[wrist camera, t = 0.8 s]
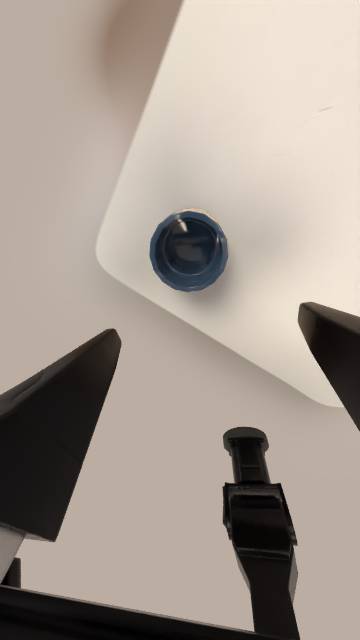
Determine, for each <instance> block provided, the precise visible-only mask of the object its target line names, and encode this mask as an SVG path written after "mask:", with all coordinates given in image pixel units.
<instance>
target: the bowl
mask: <svg viewBox="0 0 360 640" xmlns="http://www.w3.org/2000/svg"><path fill="white" fill-rule="evenodd" d="M227 258H228V248H227V240H226V237H225V235H224V233H223V231H222V230H221V228H220V226H219V224H218V222H217V221H216V219H215V218H214V217H212V216H211V215H210V214H208V213H207V212H206V211H204V210H200V209H195V208H187V209H184V210H180V211H177V212H175V213H173V214H172V215H170V216H169V217H168V218H167V219H165V220H164V221H163V222H162V223H160V224H159V225H158V227H157V229H156V231H155V233H154V235H153V237H152V239H151V243H150V259H151V262H152V266H153V269H154V271H155V272H156V274H157V275H158V276H159V278H160V279H161V280H162V282H164V283H165V284H167V285H168V286H170V287H172V288H173V289H176V290H181V291H185V292H191V291H197V290H202V289H204V288H206V287H207V286H209V285H211V284H213V283H214V282H215V281H216V280H217V278H218V277H219V276H220V275H221V273H222V272H223V271H224V268H225V265H226V261H227Z"/></svg>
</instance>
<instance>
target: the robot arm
mask: <svg viewBox="0 0 360 640" xmlns="http://www.w3.org/2000/svg"><path fill="white" fill-rule="evenodd" d="M298 324H299V326H300V329H301V331H302V333H303V335H304V338H305V340H306V342H307V344H308V346H309V349H310V351H311V353H312V354H313V356H314V358H315V359H316V361H317V363H318V364H319V366H320V367H321V369H322V371H323V372H324V374H325V376H326V377H327V379H328V380H329V382H330V384H331V385H332V387H333V389H334V390H335V392H336V394H337V395H338V397H339V398H340V400H341V402H342V403H343V405H344V407H345V408H346V409H347V411H348V413H349V415H350V416H351V418H352V419H353V421H354V423H355V424H356V426H357V428H358V429H359V431H360V317H358V316H355V315H352V314H349V313H345V312H342V311H339V310H336V309H333V308H329V307H326V306H323V305H320V304H317V303H314V302H306V303H301V304H300V306H299V313H298ZM120 348H121V340H120V338H119V335H118V333H117V331H116V330H115V329H107V330H105V331H103V332H102V333H100V334H99V335H97V336H95V337H94V338H92V339H91V340H89V341H87V342H86V343H84V344H83V345H81V346H79V347H78V348H76V349H75V350H73V351H72V352H70V353H68V354H67V355H65V356H64V357H62V358H61V359H59V360H57V361H56V362H54V363H53V364H51V365H49V366H48V367H46V368H45V369H43V370H41V371H40V372H38V373H37V374H35V375H34V376H32V377H30V378H29V379H27V380H26V381H24V382H22V383H20V384H19V385H17V386H15V387H14V388H12V389H10V390H8V391H7V392H5V393H3V394H1V395H0V640H300V636H299V632H298V628H297V623H296V618H295V614H294V610H293V600H294V594H295V589H296V583H297V577H298V571H297V565H296V559H295V553H294V548H293V545H295V546H297V539H296V535H295V531H294V527H293V523H292V519H291V516H290V513H289V509H288V506H287V503H286V499H285V496H284V493H283V489H282V486H281V483H277V484H271V482H270V478H269V473H268V469H267V465H266V461H265V457H264V456H265V439H264V438H227V444H228V450H229V455H230V456H231V457H232V466H233V474H234V483H225V486H223V498H224V499H223V524H224V525H225V527H226V528H227V532H228V536H229V540H232V544H233V548H234V551H235V555H236V559H237V562H238V566H239V569H240V571H241V573H242V576H243V578H244V580H245V582H246V584H247V586H248V588H249V591H250V593H251V602H252V612H253V620H254V621H253V622H254V631H255V632H252V631H247V630H241V629H236V628H231V627H225V626H220V625H215V624H209V623H204V622H199V621H193V620H188V619H182V618H177V617H171V616H166V615H161V614H156V613H150V612H145V611H139V610H134V609H129V608H123V607H118V606H112V605H107V604H101V603H96V602H91V601H86V600H80V599H75V598H69V597H64V596H59V595H53V594H47V593H42V592H37V591H32V590H26V589H21V582H20V581H21V569H20V568H21V567H20V565H21V562H20V558H15V555H16V553H17V551H18V549H19V547H20V545H21V544H22V541H23V540H24V539H32V540H40V541H49V542H55V540H56V538H57V536H58V533H59V531H60V528H61V525H62V522H63V519H64V516H65V514H66V511H67V508H68V505H69V502H70V499H71V496H72V493H73V490H74V488H75V485H76V482H77V479H78V476H79V473H80V470H81V468H82V464H83V461H84V459H85V456H86V453H87V450H88V447H89V444H90V441H91V439H92V436H93V433H94V430H95V427H96V424H97V421H98V418H99V415H100V413H101V410H102V407H103V404H104V401H105V398H106V395H107V392H108V390H109V387H110V384H111V381H112V378H113V375H114V372H115V369H116V366H117V361H118V357H119V353H120Z"/></svg>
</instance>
